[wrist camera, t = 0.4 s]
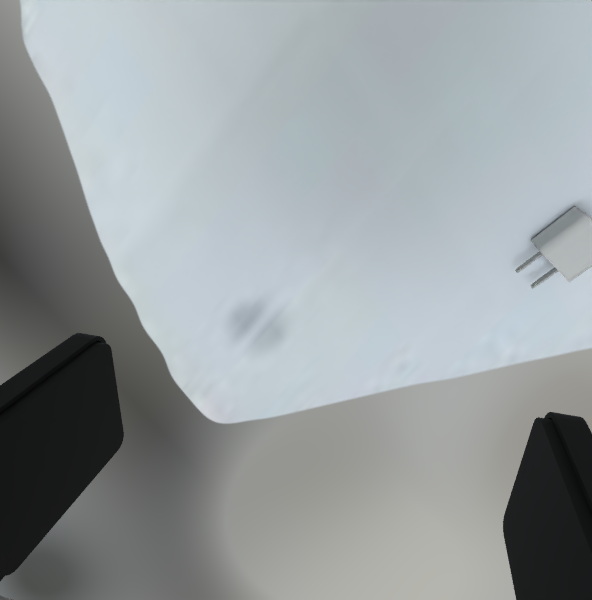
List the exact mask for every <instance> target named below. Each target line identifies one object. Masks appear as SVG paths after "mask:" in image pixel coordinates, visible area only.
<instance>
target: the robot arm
mask: <svg viewBox="0 0 592 600" xmlns="http://www.w3.org/2000/svg"><path fill="white" fill-rule="evenodd" d="M123 437H124V432H123V425H122V419H121V412H120V405H119V399H118V392H117V385H116V379H115V372H114V365H113V358H112V351H111V347H110V346H109V345H108V344H106V342H105V340H104V338H102V337H100V336H94V335H88V334H82V333H77V334H75V335H73V336H71V337H70V338H68V339H67V340H65V341H64V342H63V343H61V344H60V345H58V346H57V347H56V348H54V349H52V350H51V351H49V352H48V353H47V354H45V355H44V356H42V357H41V358H39V359H38V360H36V361H35V362H34V363H32V364H31V365H29V366H28V367H26V368H25V369H23V370H22V371H20V372H19V373H18V374H16V375H15V376H13V377H12V378H11V379H9V380H7V381H6V382H5V383H3V384H2V385H0V581H1V580H2V579H3V577H4V576H5V575H10V574H11V573H13V572H14V571H15V570H16V569H17V568H18V567H19V566H20V565H21V564H22V562H23V561H24V560H25V559H26V558H27V556H28V555H29V554H30V553H31V552H32V551H33V550H34V548H35V547H36V546H37V545H38V544H39V542H40V541H41V540H42V539H43V537H45V535H46V534H47V533H48V532H49V531H50V530H51V528H52V527H53V526H54V525H55V524H56V522H57V521H58V520H59V519H60V518H61V517H62V515H63V514H64V513H65V512H66V511H67V509H68V508H69V507H70V506H71V505H72V503H73V502H74V501H75V500H76V499H77V498H78V497H79V495H80V494H81V493H82V492H83V491H84V489H85V488H86V487H87V486H88V485H89V484H90V482H91V481H92V480H93V479H94V478H95V477H96V475H97V474H98V473H99V472H100V471H101V470H102V468H103V467H104V466H105V465H106V464H107V462H108V461H109V460H110V459H111V458H112V457H113V455H114V454H115V453H116V452H117V451H118V449H119V448H120V446H121V444H122V441H123ZM503 532H504V538H505V544H506V548H507V554H508V559H509V564H510V569H511V574H512V580H513V585H514V590H515V595H516V600H592V433H591V431H590V429H589V427H588V425H587V423H586V422H585V420H584V419H583V418H581V417H577V416H571V415H565V414H560V413H554V412H549V413H548V414H547V415H546V416H545V418H536V419H535V421H534V423H533V426H532V430H531V433H530V436H529V439H528V442H527V445H526V448H525V451H524V455H523V458H522V461H521V464H520V467H519V471H518V474H517V477H516V480H515V483H514V486H513V489H512V492H511V496H510V499H509V502H508V505H507V508H506V511H505V515H504V521H503ZM0 600H12V599H8V598H5V597H2V596H0Z"/></svg>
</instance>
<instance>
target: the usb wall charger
mask: <svg viewBox="0 0 592 600" xmlns="http://www.w3.org/2000/svg"><path fill="white" fill-rule="evenodd" d="M531 241H532V242H533V244H534V245H535V246H536V247H537V249H538V250H539V252H538V253H537V254H535V255H534V256H533V257H531V258H530V259H529V260H527V261H526V262H525V263H523V264H522V265H521V266H519V267H518V268H517V269H516V272H517V273H519V272H520V271H521V270H523V269H524V268H526V267H527V266H528V265H530V264H531V263H532V262H534V261H535V260H536V259H538V258H539V257H541V256H542V255H544V256H545V257H546V258H547V260H548V261H549V262H550V263H551V264H552V265H553V266H554V268H553V269H552V270H550V271H549V272H547V273H546V274H545V275H543V276H542V277H541V278H539V279H538V280H537V281H535V282H534V283H533V284H531V287H532V288H535V287H536V286H538V285H539V284H541V283H542V282H544V281H545V280H546V279H548V278H549V277H551V276H552V275H553V274H555V273H556V272H558V271H559V272H560V273H561V274H562V275H563V276H564V277H565V278H566V279H567V280H568V281H569V282H570V281H572V280H573V279H574V278H576V277H577V276H579V275H580V274H582V273H583V272H585V271H586V270H587V269H589V268H590V267H592V219H591V218H590V217H589V216H588V215H587V214H586V213H584V212H583V211H582V210H580V209H579V208H577V207H576V206H575V207H573V208H572V209H571V210H569V211H568V212H567V213H566V214H564V215H563V216H562V217H560V218H559V219H558V220H556V221H555V222H554V223H553V224H551V225H550V226H549V227H547V228H546V229H545V230H544V231H542V232H541V233H540V234H538V235H537V236H536V237H534V238H533V239H532V240H531ZM520 268H521V269H520ZM519 269H520V270H519ZM536 283H537V284H536ZM535 284H536V285H535Z"/></svg>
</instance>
